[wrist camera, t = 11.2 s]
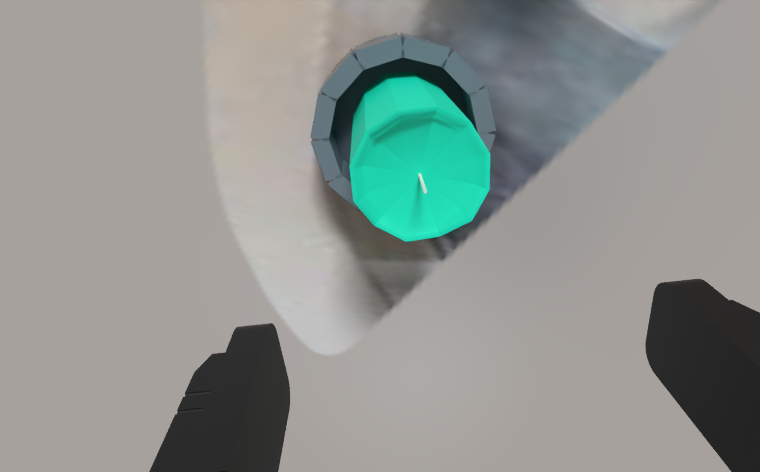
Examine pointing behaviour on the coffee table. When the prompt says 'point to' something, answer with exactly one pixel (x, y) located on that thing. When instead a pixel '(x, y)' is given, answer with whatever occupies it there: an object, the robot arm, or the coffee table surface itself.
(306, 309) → the coffee table surface
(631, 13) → the coffee table surface
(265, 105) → the coffee table surface
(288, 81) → the coffee table surface
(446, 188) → the candle
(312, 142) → the candle dish
